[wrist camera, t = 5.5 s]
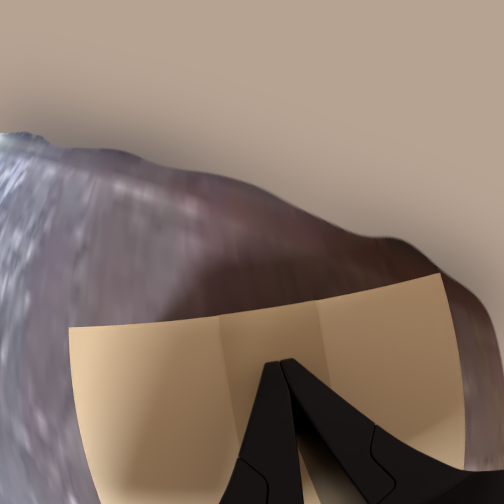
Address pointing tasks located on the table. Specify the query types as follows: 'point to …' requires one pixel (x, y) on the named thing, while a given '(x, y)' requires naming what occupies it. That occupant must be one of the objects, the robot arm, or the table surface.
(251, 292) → the table surface
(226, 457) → the carton lid
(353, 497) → the robot arm
